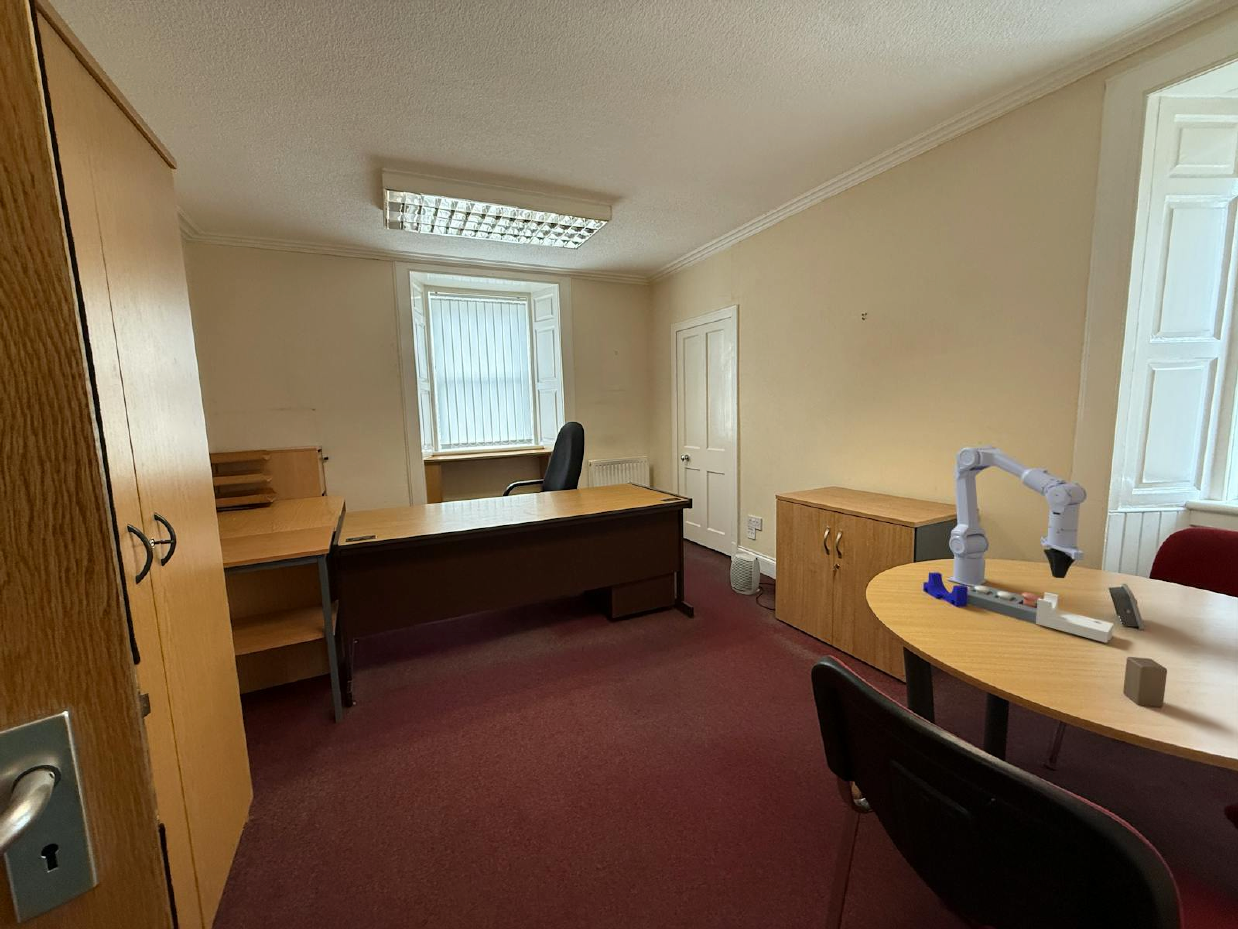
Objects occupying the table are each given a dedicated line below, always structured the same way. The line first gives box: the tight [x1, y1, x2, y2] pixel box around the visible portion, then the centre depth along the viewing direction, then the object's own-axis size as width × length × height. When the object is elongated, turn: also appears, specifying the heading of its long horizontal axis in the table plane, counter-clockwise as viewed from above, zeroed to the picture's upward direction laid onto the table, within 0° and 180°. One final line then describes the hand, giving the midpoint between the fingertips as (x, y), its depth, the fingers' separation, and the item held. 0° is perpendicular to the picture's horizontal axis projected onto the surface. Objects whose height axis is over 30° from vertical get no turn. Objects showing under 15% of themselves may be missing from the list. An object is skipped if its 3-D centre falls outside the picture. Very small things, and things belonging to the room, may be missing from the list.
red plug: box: [1021, 592, 1039, 608], centre depth 129 cm, size 3×3×4 cm
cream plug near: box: [975, 585, 989, 595], centre depth 139 cm, size 3×3×4 cm
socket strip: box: [967, 584, 1038, 625], centre depth 134 cm, size 11×17×3 cm, turn 33°
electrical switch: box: [1108, 583, 1145, 630], centre depth 124 cm, size 9×5×9 cm, turn 141°
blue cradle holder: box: [922, 571, 969, 608], centre depth 141 cm, size 12×4×6 cm, turn 2°
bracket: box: [1035, 591, 1114, 643], centre depth 120 cm, size 13×7×8 cm, turn 36°
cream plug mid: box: [997, 591, 1013, 601], centre depth 134 cm, size 3×3×4 cm
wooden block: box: [1122, 656, 1168, 708], centre depth 92 cm, size 4×4×8 cm
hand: (1058, 577), depth 128 cm, fingers closed
